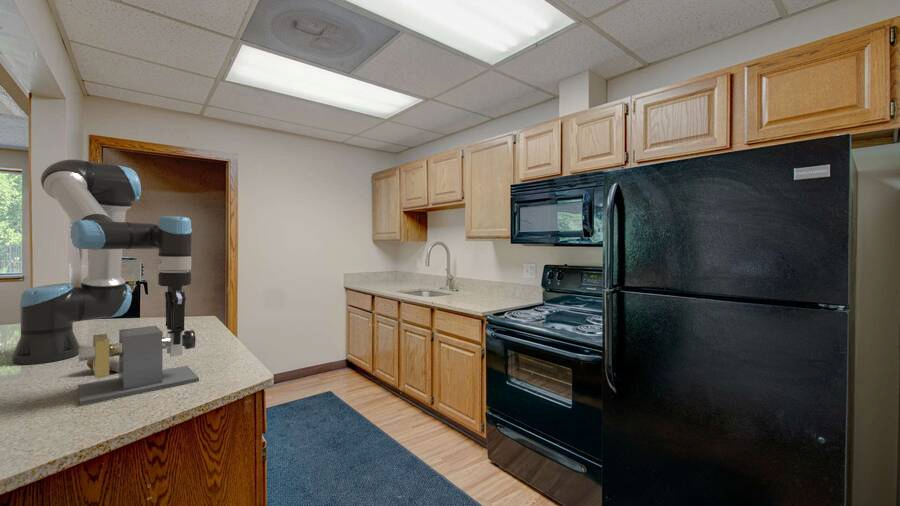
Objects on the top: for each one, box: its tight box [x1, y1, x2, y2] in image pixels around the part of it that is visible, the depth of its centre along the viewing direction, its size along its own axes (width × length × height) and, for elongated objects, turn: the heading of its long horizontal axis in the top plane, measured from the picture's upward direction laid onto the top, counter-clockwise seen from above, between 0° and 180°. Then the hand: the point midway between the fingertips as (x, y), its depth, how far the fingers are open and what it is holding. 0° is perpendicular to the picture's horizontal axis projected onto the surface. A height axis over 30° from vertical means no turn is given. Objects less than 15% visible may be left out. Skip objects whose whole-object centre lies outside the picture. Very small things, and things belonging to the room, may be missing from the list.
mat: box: [77, 365, 200, 406], centre depth 104 cm, size 14×24×1 cm, turn 136°
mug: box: [86, 356, 119, 373], centre depth 114 cm, size 8×10×10 cm
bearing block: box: [118, 325, 164, 390], centre depth 104 cm, size 10×8×15 cm
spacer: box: [92, 333, 110, 379], centre depth 98 cm, size 9×2×9 cm, turn 46°
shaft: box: [78, 329, 197, 362], centre depth 104 cm, size 5×24×5 cm, turn 136°
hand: (174, 353), depth 109 cm, fingers closed on shaft, 3 cm apart
